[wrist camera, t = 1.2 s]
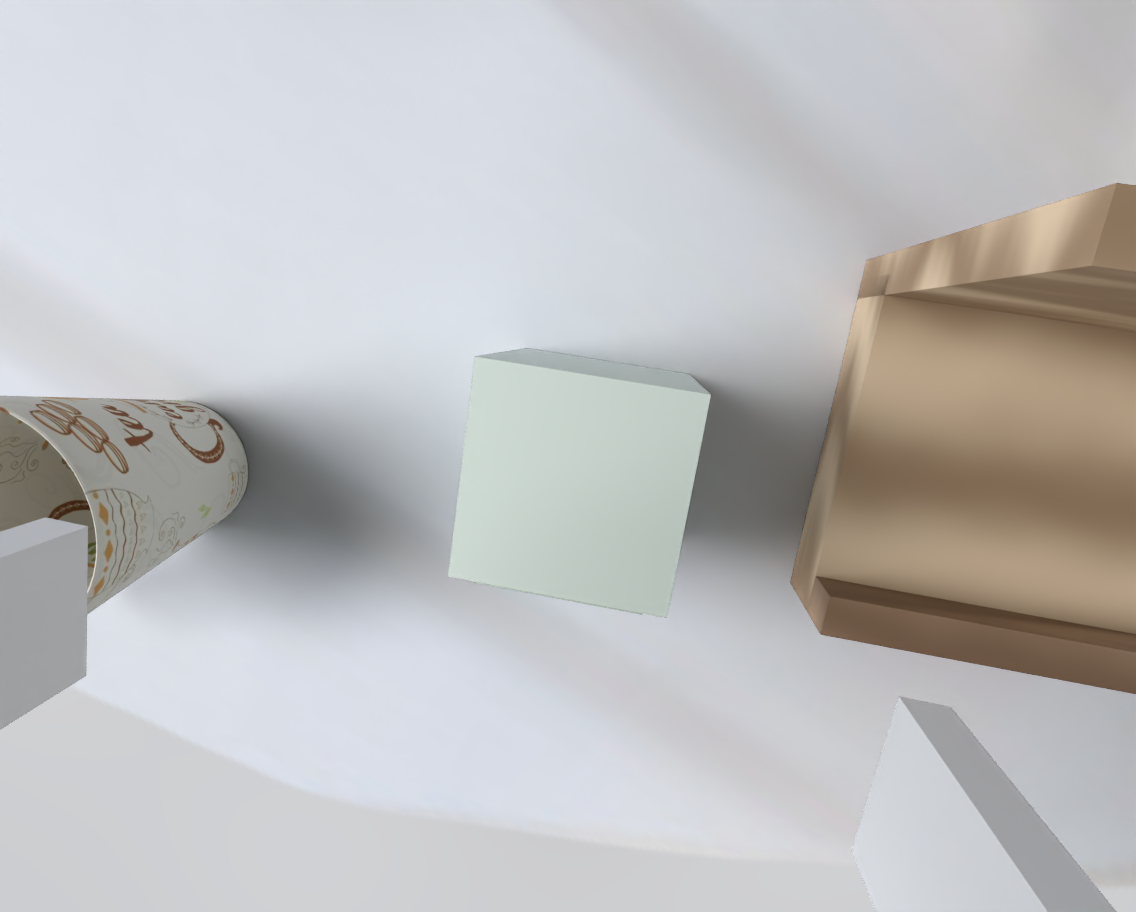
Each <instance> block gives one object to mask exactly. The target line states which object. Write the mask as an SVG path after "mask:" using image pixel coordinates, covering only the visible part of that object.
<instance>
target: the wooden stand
mask: <svg viewBox="0 0 1136 912" xmlns="http://www.w3.org/2000/svg"><path fill="white" fill-rule="evenodd" d="M790 583H791V585H792V586H793V588H794V590H795V591H796V593H797V595H798V597H799V598H800V600H801V602H802V603H803V605H804V607H805V609H806V610H807V612H808V614H809V616H810V617H811V619H812V621H813V622H814V624H815V626H816V628H817V629H818V631H819V633H820V634H821V635H826V636H831V637H837V638H842V639H847V640H852V641H858V642H863V643H868V644H874V645H879V646H884V647H890V648H895V649H900V650H905V651H911V652H916V653H921V654H927V655H932V656H937V657H942V658H948V659H953V660H958V661H964V662H969V663H974V664H980V665H985V666H990V667H995V668H1001V669H1006V670H1011V671H1017V672H1022V673H1027V674H1032V675H1038V676H1043V677H1048V678H1054V679H1059V680H1064V681H1069V682H1075V683H1080V684H1085V685H1091V686H1096V687H1101V688H1107V689H1112V690H1117V691H1122V692H1128V693H1133V694H1136V185H1128V184H1121V183H1115V184H1112V185H1109V186H1106V187H1103V188H1099V189H1096V190H1093V191H1090V192H1086V193H1083V194H1080V195H1077V196H1073V197H1070V198H1067V199H1064V200H1060V201H1057V202H1054V203H1051V204H1047V205H1044V206H1041V207H1038V208H1034V209H1031V210H1028V211H1025V212H1022V213H1018V214H1015V215H1012V216H1009V217H1005V218H1002V219H999V220H996V221H992V222H989V223H986V224H983V225H979V226H976V227H973V228H970V229H966V230H963V231H960V232H957V233H953V234H950V235H947V236H944V237H941V238H937V239H934V240H931V241H928V242H924V243H921V244H918V245H915V246H911V247H908V248H905V249H902V250H898V251H895V252H892V253H889V254H885V255H882V256H879V257H876V258H872V259H869V260H867V261H866V266H865V270H864V274H863V278H862V282H861V287H860V291H859V295H858V299H857V303H856V308H855V312H854V316H853V320H852V325H851V329H850V333H849V337H848V341H847V346H846V350H845V354H844V358H843V363H842V367H841V371H840V375H839V379H838V384H837V388H836V392H835V396H834V401H833V405H832V409H831V413H830V417H829V422H828V426H827V430H826V434H825V438H824V443H823V447H822V451H821V455H820V460H819V464H818V468H817V472H816V476H815V481H814V485H813V489H812V493H811V498H810V502H809V506H808V510H807V514H806V519H805V523H804V527H803V531H802V535H801V540H800V544H799V548H798V552H797V557H796V561H795V565H794V569H793V573H792V578H791V582H790Z"/></svg>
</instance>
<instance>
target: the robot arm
mask: <svg viewBox="0 0 1136 912" xmlns="http://www.w3.org/2000/svg"><path fill="white" fill-rule="evenodd" d="M87 568H88V526H84V525H79V524H74V523H70V522H65V521H60V520H55V519H51V518H46V517H45V518H42V519H39V520H36V521H32V522H29V523H26V524H23V525H20V526H17V527H14V528H11V529H7V530H4V531H1V532H0V729H2V728H4V727H5V726H7V725H8V724H10V723H12V722H13V721H15V720H16V719H18V718H19V717H21V716H23V715H24V714H26V713H27V712H29V711H31V710H32V709H34V708H35V707H37V706H38V705H40V704H42V703H43V702H45V701H47V700H48V699H50V698H51V697H53V696H54V695H56V694H58V693H59V692H61V691H63V690H64V689H66V688H67V687H69V686H71V685H72V684H74V683H75V682H77V681H78V680H80V679H82V678H83V677H85V676H86V650H87ZM851 851H852V853H853V856H854V858H855V861H856V863H857V866H858V869H859V871H860V874H861V876H862V879H863V881H864V884H865V886H866V889H867V891H868V894H869V896H870V899H871V901H872V904H873V906H874V909H875V911H876V912H1116V910H1115V909H1114V908H1113V907H1112V906H1111V904H1110V903H1109V902H1108V901H1107V899H1106V898H1105V897H1104V896H1103V894H1102V893H1101V892H1100V891H1099V889H1098V888H1097V887H1096V886H1095V884H1094V883H1093V882H1092V881H1091V880H1090V878H1089V877H1088V876H1087V875H1086V873H1085V872H1084V871H1083V870H1082V868H1081V867H1080V866H1079V865H1078V863H1077V862H1076V861H1075V860H1074V859H1073V857H1072V856H1071V855H1070V854H1069V852H1068V851H1067V850H1066V849H1065V847H1064V846H1063V845H1062V844H1061V842H1060V841H1059V840H1058V839H1057V837H1056V836H1055V835H1054V834H1053V833H1052V831H1051V830H1050V829H1049V828H1048V826H1047V825H1046V824H1045V823H1044V821H1043V820H1042V819H1041V818H1040V816H1039V815H1038V814H1037V813H1036V812H1035V810H1034V809H1033V808H1032V807H1031V805H1030V804H1029V803H1028V802H1027V800H1026V799H1025V798H1024V797H1023V795H1022V794H1021V793H1020V792H1019V791H1018V789H1017V788H1016V787H1015V786H1014V784H1013V783H1012V782H1011V781H1010V779H1009V778H1008V777H1007V776H1006V774H1005V773H1004V772H1003V771H1002V769H1001V768H1000V767H999V766H998V765H997V763H996V762H995V761H994V760H993V758H992V757H991V756H990V755H989V753H988V752H987V751H986V750H985V748H984V747H983V746H982V745H981V744H980V742H979V741H978V740H977V739H976V737H975V736H974V735H973V734H972V732H971V731H970V730H969V729H968V727H967V726H966V725H965V724H964V722H963V721H962V720H961V719H960V718H959V716H958V715H957V714H956V713H955V711H954V710H953V709H952V708H951V707H947V706H943V705H938V704H933V703H928V702H923V701H919V700H914V699H909V698H904V697H900V696H899V697H898V701H897V704H896V707H895V710H894V714H893V717H892V720H891V723H890V727H889V730H888V733H887V736H886V740H885V743H884V746H883V749H882V752H881V756H880V759H879V762H878V765H877V769H876V772H875V775H874V778H873V782H872V785H871V788H870V791H869V795H868V798H867V801H866V804H865V808H864V811H863V814H862V817H861V821H860V824H859V827H858V830H857V834H856V837H855V840H854V843H853V847H852V850H851Z"/></svg>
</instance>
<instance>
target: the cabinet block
mask: <svg viewBox="0 0 1136 912" xmlns="http://www.w3.org/2000/svg"><path fill="white" fill-rule="evenodd" d="M710 398H711V394H710V393H709V392H708V391H707V390H706V389H704V388H703V387H702V386H701V385H700V384H699V383H698V382H697V381H696V380H695V379H694V378H693V377H692V376H691V375H690V374H686V373H680V372H674V371H667V370H661V369H655V368H649V367H642V366H636V365H630V364H623V363H617V362H611V361H605V360H598V359H592V358H586V357H580V356H573V355H567V354H561V353H555V352H548V351H542V350H536V349H530V348H524V349H518V350H512V351H506V352H499V353H493V354H487V355H481V356H475V357H474V365H473V373H472V382H471V390H470V398H469V406H468V415H467V423H466V431H465V439H464V448H463V456H462V464H461V473H460V481H459V489H458V497H457V506H456V514H455V522H454V530H453V539H452V547H451V555H450V563H449V572H448V577H453V578H459V579H464V580H469V581H474V583H478V584H484V585H489V586H494V587H499V588H505V589H510V590H515V591H521V592H526V593H531V594H536V595H542V596H547V597H552V598H557V599H563V600H568V601H573V602H578V603H584V604H589V605H594V606H599V607H605V608H610V609H615V610H620V611H626V612H631V613H636V614H648V615H653V616H659V617H664V618H667V615H668V610H669V605H670V600H671V595H672V590H673V585H674V580H675V575H676V570H677V565H678V560H679V555H680V550H681V545H682V540H683V534H684V529H685V524H686V519H687V514H688V509H689V504H690V499H691V494H692V489H693V484H694V479H695V474H696V469H697V464H698V459H699V453H700V448H701V443H702V438H703V433H704V428H705V423H706V418H707V413H708V408H709V403H710Z"/></svg>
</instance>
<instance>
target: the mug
mask: <svg viewBox="0 0 1136 912" xmlns="http://www.w3.org/2000/svg"><path fill="white" fill-rule="evenodd" d="M247 480H248V463H247V457H246V454H245V450H244V448H243V445H242V443H241V441H240V439H239V437H238V435H237V434H236V432H235V431H234V430H233V428H232V427H231V426H230V425H229V423H228V422H227V421H226V420H225V419H223V418H222V417H221V416H220V415H219V414H217V413H216V412H214V411H212V410H211V409H209V408H207V407H205V406H202V405H199V404H196V403H192V402H187V401H176V400H142V399H103V398H64V397H25V396H0V532H1V531H4V530H7V529H11V528H14V527H17V526H20V525H23V524H26V523H29V522H32V521H36V520H39V519H42V518H45V517H46V518H51V519H55V520H60V521H65V522H70V523H74V524H79V525H84V526H88V568H87V614H88V613H90V612H91V611H93V610H94V609H96V608H97V607H98V606H100V605H101V604H103V603H104V602H106V601H107V600H108V599H110V598H111V597H113V596H114V595H116V594H117V593H118V592H120V591H121V590H123V589H124V588H126V587H127V586H129V585H130V584H131V583H133V582H134V581H136V580H137V579H139V578H140V577H141V576H143V575H144V574H146V573H147V572H149V571H150V570H151V569H153V568H154V567H156V566H157V565H159V564H160V563H161V562H163V561H164V560H166V559H167V558H169V557H170V556H171V555H173V554H174V553H176V552H177V551H179V550H180V549H181V548H183V547H184V546H186V545H187V544H189V543H190V542H192V541H193V540H194V539H196V538H197V537H199V536H200V535H202V534H203V533H204V532H206V531H207V530H209V529H210V528H212V527H213V526H214V525H216V524H217V523H219V522H220V521H221V520H223V519H224V518H225V517H227V516H228V515H229V514H230V513H231V512H232V511H233V510H234V509H235V508H236V507H237V505H238V504H239V502H240V501H241V499H242V497H243V495H244V492H245V489H246V486H247Z"/></svg>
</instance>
